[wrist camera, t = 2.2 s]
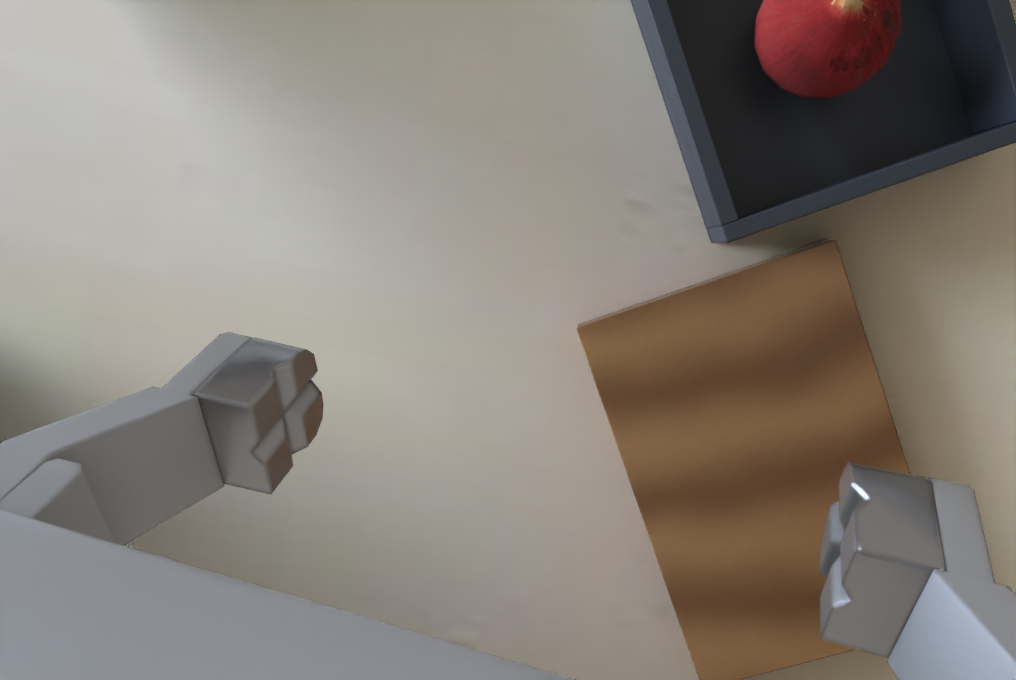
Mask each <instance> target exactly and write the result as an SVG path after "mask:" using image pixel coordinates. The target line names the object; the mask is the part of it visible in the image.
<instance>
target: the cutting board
mask: <svg viewBox="0 0 1016 680" xmlns="http://www.w3.org/2000/svg"><path fill="white" fill-rule="evenodd" d="M577 332H578V334H579V337H580V340H581V343H582V346H583V349H584V352H585V355H586V357H587V360H588V363H589V366H590V369H591V372H592V375H593V377H594V380H595V383H596V386H597V389H598V392H599V395H600V397H601V400H602V403H603V406H604V409H605V412H606V415H607V417H608V420H609V423H610V426H611V429H612V432H613V435H614V438H615V440H616V443H617V446H618V449H619V452H620V455H621V458H622V460H623V463H624V466H625V469H626V472H627V475H628V478H629V480H630V483H631V486H632V489H633V492H634V495H635V498H636V500H637V503H638V506H639V509H640V512H641V515H642V518H643V520H644V523H645V526H646V529H647V532H648V535H649V538H650V541H651V543H652V546H653V549H654V552H655V555H656V558H657V561H658V563H659V566H660V569H661V572H662V575H663V578H664V581H665V583H666V586H667V589H668V592H669V595H670V598H671V601H672V603H673V606H674V609H675V612H676V615H677V618H678V621H679V624H680V626H681V629H682V632H683V635H684V638H685V641H686V644H687V646H688V649H689V652H690V655H691V658H692V661H693V664H694V666H695V669H696V672H697V675H698V678H699V680H740V679H744V678H748V677H752V676H756V675H759V674H763V673H767V672H771V671H775V670H779V669H782V668H786V667H790V666H794V665H798V664H801V663H805V662H809V661H813V660H817V659H821V658H824V657H828V656H832V655H836V654H840V653H843V652H847V651H851V650H855V649H854V648H851V647H847V646H844V645H840V644H837V643H833V642H830V641H826V640H823V639H820V596H821V593H822V590H823V587H824V585H825V582H826V579H825V577H824V576H823V575H822V573H821V572H820V549H821V540H822V535H823V530H824V525H825V521H826V518H827V515H828V512H829V509H830V505H832V504H834V503H836V502H837V501H839V480H840V478H841V475H842V472H843V469H844V468H845V466H846V465H847V463H848V462H850V463H855V464H860V465H865V466H870V467H875V468H880V469H885V470H890V471H895V472H900V473H905V474H910V472H909V469H908V465H907V462H906V459H905V456H904V453H903V450H902V447H901V444H900V440H899V437H898V434H897V431H896V428H895V425H894V422H893V419H892V415H891V412H890V409H889V406H888V403H887V400H886V397H885V394H884V390H883V387H882V384H881V381H880V378H879V375H878V372H877V369H876V365H875V362H874V359H873V356H872V353H871V350H870V347H869V344H868V340H867V337H866V334H865V331H864V328H863V325H862V322H861V319H860V315H859V312H858V309H857V306H856V303H855V300H854V297H853V294H852V290H851V287H850V284H849V281H848V278H847V275H846V272H845V269H844V265H843V262H842V259H841V256H840V253H839V250H838V247H837V244H836V241H835V240H823V241H821V242H818V243H815V244H812V245H809V246H806V247H803V248H800V249H797V250H794V251H791V252H788V253H786V254H783V255H780V256H777V257H774V258H771V259H768V260H765V261H762V262H759V263H756V264H753V265H750V266H748V267H745V268H742V269H739V270H736V271H733V272H730V273H727V274H724V275H721V276H718V277H715V278H712V279H710V280H707V281H704V282H701V283H698V284H695V285H692V286H689V287H686V288H683V289H680V290H677V291H674V292H672V293H669V294H666V295H663V296H660V297H657V298H654V299H651V300H648V301H645V302H642V303H639V304H637V305H634V306H631V307H628V308H625V309H622V310H619V311H616V312H613V313H610V314H607V315H604V316H601V317H599V318H596V319H593V320H590V321H587V322H584V323H581V324H578V325H577Z"/></svg>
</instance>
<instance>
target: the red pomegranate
mask: <svg viewBox="0 0 1016 680" xmlns="http://www.w3.org/2000/svg"><path fill="white" fill-rule="evenodd" d="M900 33H901V7H900V0H763V2H762V5H761V7H760V9H759V11H758V14H757V17H756V25H755V44H754V46H755V49H756V52H757V55H758V58H759V61H760V64H761V67H762V70H763V71H764V72H765V73H766V75H767V76H768V77H769V78H770V79H771V80H772V81H773V82H774V83H775V84H776V85H777V86H778V87H779V88H780V89H783V90H785V91H787V92H790V93H792V94H794V95H796V96H799V97H801V98H832V97H835V96H838V95H841V94H843V93H846V92H849V91H852V90H854V89H857V88H859V87H860V86H862V85H863V84H864V83H865V82H866V81H867V80H869V79H870V78H871V77H872V76H873V75H874V74H876V73H877V72H878V71H879V70H880V69H881V68H882V67H883V66H884V65H885V63H886V62H887V60H888V58H889V56H890V54H891V52H892V50H893V48H894V46H895V44H896V42H897V40H898V37H899V35H900Z"/></svg>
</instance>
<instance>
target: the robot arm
mask: <svg viewBox="0 0 1016 680" xmlns="http://www.w3.org/2000/svg"><path fill="white" fill-rule="evenodd" d="M317 371H318V370H317V366H316V361H315V357H314V354H313V353H311V352H310V351H308V350H306V349H302V348H297V347H293V346H289V345H285V344H280V343H276V342H272V341H268V340H263V339H259V338H252V337H248V336H244V335H239V334H235V333H231V332H228V333H224V334H220V335H219V336H218V337H217V338H215V339H214V340H213V341H212V342H211V343H210V344H209V345H208V346H207V347H206V348H205V349H204V350H202V351H201V352H200V353H199V354H198V355H197V356H196V357H195V358H194V359H193V360H192V361H191V362H189V363H188V364H187V365H186V366H185V367H184V368H183V369H182V370H181V371H180V372H179V373H178V374H176V375H175V376H174V377H173V378H172V379H171V380H170V381H169V382H168V383H167V384H166V385H165V386H163V387H162V388H157V387H151V388H148V389H146V390H143V391H140V392H137V393H135V394H132V395H129V396H126V397H123V398H121V399H118V400H115V401H112V402H110V403H107V404H104V405H101V406H99V407H96V408H93V409H90V410H88V411H85V412H82V413H79V414H77V415H74V416H71V417H68V418H66V419H63V420H60V421H57V422H54V423H52V424H49V425H46V426H43V427H41V428H38V429H35V430H32V431H30V432H27V433H24V434H21V435H19V436H16V437H13V438H10V439H8V440H5V441H3V442H2V443H1V444H0V680H576V679H572V678H569V677H566V676H562V675H559V674H555V673H552V672H549V671H545V670H542V669H538V668H535V667H532V666H528V665H525V664H522V663H518V662H515V661H511V660H508V659H505V658H501V657H498V656H495V655H491V654H488V653H484V652H481V651H478V650H474V649H471V648H468V647H464V646H461V645H457V644H454V643H451V642H447V641H444V640H441V639H437V638H434V637H431V636H427V635H424V634H420V633H417V632H414V631H410V630H407V629H404V628H400V627H397V626H393V625H390V624H387V623H383V622H380V621H377V620H373V619H370V618H367V617H363V616H360V615H356V614H353V613H350V612H346V611H343V610H340V609H336V608H333V607H329V606H326V605H323V604H319V603H316V602H313V601H309V600H306V599H302V598H299V597H296V596H292V595H289V594H286V593H282V592H279V591H275V590H272V589H269V588H265V587H262V586H259V585H255V584H252V583H248V582H245V581H242V580H238V579H235V578H232V577H228V576H225V575H221V574H218V573H215V572H211V571H208V570H205V569H201V568H198V567H194V566H191V565H188V564H184V563H181V562H178V561H174V560H171V559H167V558H164V557H161V556H157V555H154V554H151V553H147V552H144V551H140V550H137V549H134V548H130V547H127V546H124V545H125V544H127V543H128V542H130V541H132V540H134V539H135V538H137V537H139V536H140V535H142V534H144V533H145V532H147V531H149V530H151V529H152V528H154V527H156V526H157V525H159V524H161V523H163V522H164V521H166V520H168V519H169V518H171V517H173V516H174V515H176V514H178V513H180V512H181V511H183V510H185V509H186V508H188V507H190V506H192V505H193V504H195V503H197V502H198V501H200V500H202V499H204V498H205V497H207V496H209V495H210V494H212V493H214V492H215V491H217V490H219V489H221V488H222V487H224V484H227V485H232V486H236V487H240V488H245V489H249V490H253V491H258V492H262V493H266V494H272V493H273V491H274V490H275V489H276V488H277V486H278V485H279V484H280V482H281V481H282V480H283V478H284V477H285V476H286V475H287V473H288V472H289V471H290V469H291V468H292V467H293V460H292V454H294V453H296V452H298V451H300V450H302V449H304V448H306V447H308V446H309V444H310V443H311V441H312V440H313V439H314V437H315V436H316V435H317V432H318V429H319V426H320V423H321V421H322V417H323V399H322V392H321V391H320V390H319V389H318V387H317V386H316V385H315V384H314V383H313V381H312V380H311V379H312V378H313V376H314V375H315V374H316V372H317ZM820 572H821V573H822V575H823V576H824V577H825V579H826V582H825V585H824V587H823V590H822V593H821V596H820V639H823V640H826V641H830V642H833V643H837V644H840V645H844V646H847V647H851V648H854V649H858V650H861V651H865V652H868V653H871V654H875V655H878V656H882V657H885V658H889V659H888V661H887V662H888V663H889V665H890V667H891V668H892V670H893V671H894V673H895V675H896V676H897V678H898V680H1016V594H1015V593H1014V592H1013V591H1012V590H1011V589H1010V588H1009V587H1008V586H1005V585H1000V584H996V583H995V579H994V575H993V571H992V566H991V562H990V557H989V553H988V549H987V544H986V540H985V535H984V531H983V527H982V522H981V518H980V514H979V509H978V505H977V501H976V496H975V492H974V490H973V489H972V488H971V487H970V486H969V485H965V484H960V483H954V482H949V481H944V480H939V479H933V478H927V479H926V478H924V477H920V476H915V475H910V474H905V473H900V472H895V471H890V470H885V469H880V468H875V467H870V466H865V465H860V464H855V463H850V462H848V463H847V465H846V466H845V468H844V469H843V472H842V475H841V478H840V480H839V501H837V502H836V503H834V504H832V505H830V509H829V512H828V515H827V518H826V521H825V525H824V530H823V535H822V540H821V549H820Z"/></svg>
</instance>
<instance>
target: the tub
mask: <svg viewBox="0 0 1016 680" xmlns="http://www.w3.org/2000/svg"><path fill="white" fill-rule="evenodd" d="M762 2H763V0H631V3H632V6H633V9H634V12H635V15H636V18H637V21H638V24H639V27H640V30H641V33H642V36H643V39H644V42H645V45H646V48H647V51H648V54H649V57H650V60H651V63H652V66H653V69H654V72H655V75H656V78H657V81H658V84H659V87H660V90H661V93H662V96H663V99H664V102H665V105H666V108H667V111H668V114H669V117H670V120H671V123H672V126H673V129H674V132H675V135H676V138H677V141H678V144H679V147H680V150H681V153H682V156H683V159H684V162H685V165H686V168H687V171H688V174H689V177H690V181H691V184H692V187H693V190H694V193H695V196H696V199H697V202H698V205H699V208H700V211H701V214H702V217H703V220H704V223H705V226H706V229H707V232H708V235H709V238H710V241H711V243H714V242H731V241H734V240H737V239H740V238H743V237H745V236H748V235H751V234H754V233H757V232H760V231H763V230H766V229H768V228H771V227H774V226H777V225H780V224H783V223H786V222H789V221H791V220H794V219H797V218H800V217H803V216H806V215H809V214H812V213H814V212H817V211H820V210H823V209H826V208H829V207H832V206H834V205H837V204H840V203H843V202H846V201H849V200H852V199H855V198H857V197H860V196H863V195H866V194H869V193H872V192H875V191H878V190H880V189H883V188H886V187H889V186H892V185H895V184H898V183H901V182H903V181H906V180H909V179H912V178H915V177H918V176H921V175H923V174H926V173H929V172H932V171H935V170H938V169H941V168H944V167H946V166H949V165H952V164H955V163H958V162H961V161H964V160H967V159H969V158H972V157H975V156H978V155H981V154H984V153H987V152H990V151H992V150H995V149H998V148H1001V147H1004V146H1007V145H1010V144H1012V143H1015V142H1016V23H1015V20H1014V16H1013V13H1012V10H1011V6H1010V3H1009V0H900V7H901V33H900V35H899V37H898V40H897V42H896V44H895V46H894V48H893V50H892V52H891V54H890V56H889V58H888V60H887V62H886V63H885V65H884V66H883V67H882V68H881V69H880V70H879V71H878V72H877V73H876V74H874V75H873V76H872V77H871V78H870V79H869V80H867V81H866V82H865V83H864V84H863V85H862V86H860V87H859V88H857V89H854V90H852V91H849V92H846V93H843V94H841V95H838V96H835V97H832V98H801V97H799V96H796V95H794V94H792V93H790V92H787V91H785V90H783V89H780V88H779V87H778V86H777V85H776V84H775V83H774V82H773V81H772V80H771V79H770V78H769V77H768V76H767V75H766V73H765V72H764V71H763V70H762V67H761V64H760V61H759V58H758V55H757V52H756V49H755V46H754V44H755V25H756V17H757V14H758V11H759V9H760V7H761V5H762Z"/></svg>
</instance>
